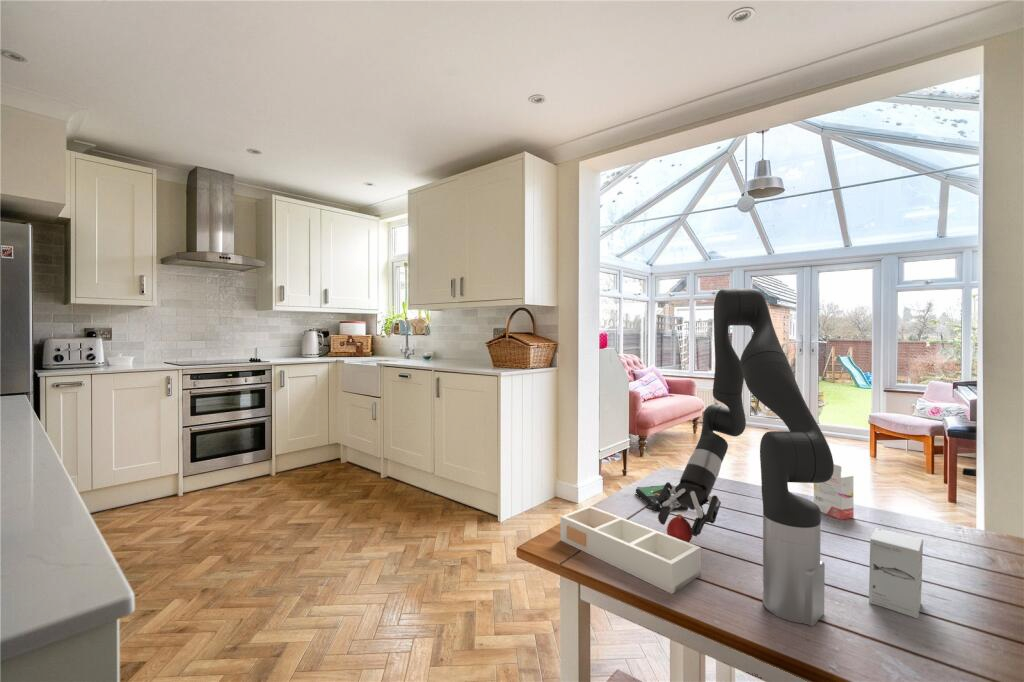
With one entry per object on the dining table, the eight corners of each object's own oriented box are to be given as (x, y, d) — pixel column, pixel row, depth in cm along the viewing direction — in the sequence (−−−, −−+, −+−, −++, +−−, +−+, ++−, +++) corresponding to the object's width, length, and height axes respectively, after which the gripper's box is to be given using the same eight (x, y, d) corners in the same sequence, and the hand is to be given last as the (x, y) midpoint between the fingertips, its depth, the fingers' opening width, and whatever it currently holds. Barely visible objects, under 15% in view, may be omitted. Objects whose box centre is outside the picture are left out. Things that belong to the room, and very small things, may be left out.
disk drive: (689, 511, 136) (665, 492, 150) (689, 501, 136) (665, 484, 150) (655, 513, 134) (634, 494, 149) (655, 504, 134) (634, 486, 149)
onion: (670, 539, 116) (670, 507, 116) (694, 544, 113) (694, 511, 113) (664, 548, 111) (664, 515, 111) (690, 554, 108) (690, 520, 108)
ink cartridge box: (854, 518, 128) (855, 465, 128) (841, 520, 127) (841, 466, 126) (825, 506, 136) (825, 457, 136) (812, 509, 135) (812, 458, 134)
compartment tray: (700, 575, 99) (700, 547, 99) (670, 594, 92) (670, 564, 92) (590, 528, 123) (589, 505, 123) (559, 540, 116) (559, 516, 116)
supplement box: (867, 603, 89) (868, 537, 88) (874, 588, 94) (874, 526, 93) (919, 620, 83) (919, 550, 83) (922, 603, 88) (923, 537, 88)
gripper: (670, 457, 122) (644, 511, 115) (723, 469, 111) (698, 530, 104) (681, 473, 126) (657, 527, 119) (734, 486, 115) (710, 546, 108)
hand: (676, 528), depth 111 cm, fingers open, 8 cm apart
